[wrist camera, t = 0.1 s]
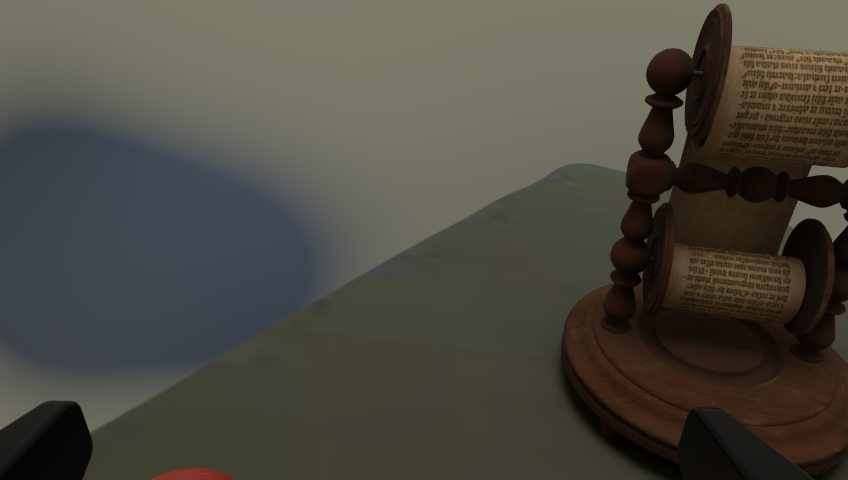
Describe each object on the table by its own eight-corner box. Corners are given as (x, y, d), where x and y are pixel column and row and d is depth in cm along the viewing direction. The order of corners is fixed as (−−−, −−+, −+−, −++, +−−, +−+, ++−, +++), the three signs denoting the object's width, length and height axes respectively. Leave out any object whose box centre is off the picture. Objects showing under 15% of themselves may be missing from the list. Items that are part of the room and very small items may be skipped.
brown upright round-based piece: (796, 329, 38) (931, -6, 29) (900, 536, 26) (1205, 63, 16) (562, 296, 41) (611, -20, 31) (552, 468, 29) (630, 29, 19)
